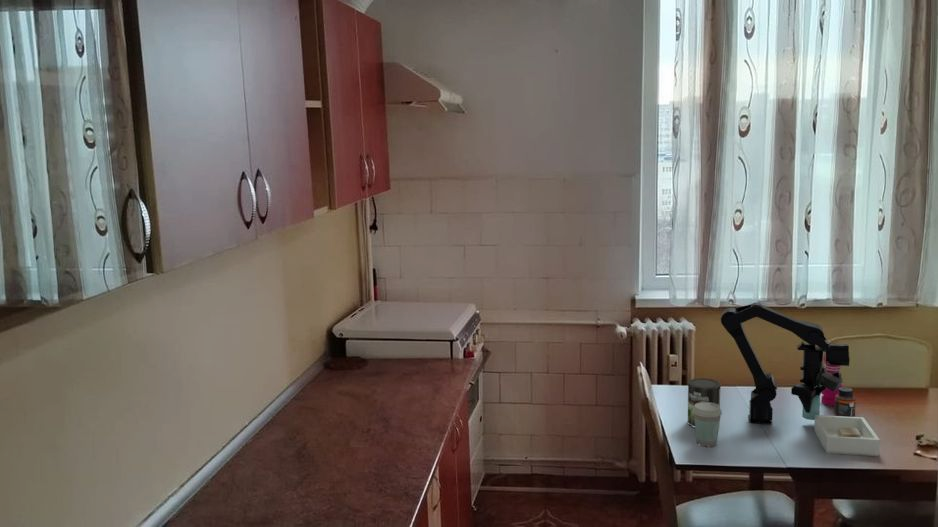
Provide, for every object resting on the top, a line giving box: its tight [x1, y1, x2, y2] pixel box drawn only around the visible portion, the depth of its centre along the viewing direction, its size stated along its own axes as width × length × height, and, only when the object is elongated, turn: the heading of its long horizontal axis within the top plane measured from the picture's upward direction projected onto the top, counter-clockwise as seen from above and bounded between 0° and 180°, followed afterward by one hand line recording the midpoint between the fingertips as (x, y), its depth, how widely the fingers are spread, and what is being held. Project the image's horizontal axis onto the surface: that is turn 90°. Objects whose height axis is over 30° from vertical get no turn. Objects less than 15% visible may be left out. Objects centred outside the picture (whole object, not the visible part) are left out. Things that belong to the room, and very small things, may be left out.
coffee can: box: [687, 377, 722, 426], centre depth 241 cm, size 10×10×14 cm
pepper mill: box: [820, 353, 843, 406], centre depth 255 cm, size 7×7×20 cm
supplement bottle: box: [833, 387, 857, 417], centre depth 238 cm, size 6×6×11 cm
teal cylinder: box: [801, 395, 821, 421], centre depth 237 cm, size 5×5×7 cm
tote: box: [813, 414, 881, 457], centre depth 223 cm, size 14×18×5 cm
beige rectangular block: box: [838, 427, 861, 438], centre depth 219 cm, size 5×5×5 cm
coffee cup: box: [693, 402, 723, 448], centre depth 226 cm, size 9×8×12 cm
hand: (810, 410), depth 237 cm, fingers closed on teal cylinder, 5 cm apart
